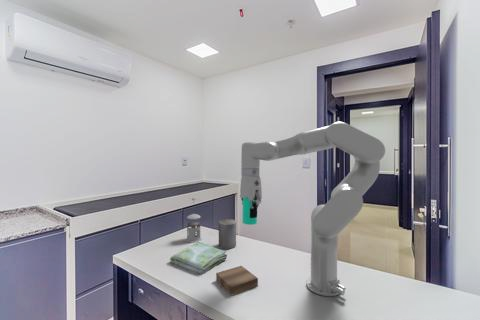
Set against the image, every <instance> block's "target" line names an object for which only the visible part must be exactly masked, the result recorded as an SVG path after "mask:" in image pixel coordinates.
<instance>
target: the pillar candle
mask: <svg viewBox="0 0 480 320" xmlns="http://www.w3.org/2000/svg"><path fill="white" fill-rule="evenodd" d="M218 247H219V248H220V249H221V250H231V249H234V248H236V247H237V221H236V219H233V218H232V219H231V218H225V219H220V220H218Z"/></svg>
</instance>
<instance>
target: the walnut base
mask: <svg viewBox="0 0 480 320" xmlns="http://www.w3.org/2000/svg"><path fill="white" fill-rule="evenodd" d="M215 278H216V279H215V281H216V282H218V284H219V285H220V286H221V287H222V288H223V289H224V290H225V291H226V292H227V294H229V295H230V296H233V295H236V294H239V293H241V292H244V291H247V290H250V289H252V288H255V287H258V286H259V278H258V277H257V276H256V275H255V274H253V273H252V272H250V271H249V270H248V269H246V268H245V267H244V266H242V265H239V266H236V267H233V268H229V269H225V270H222V271H219V272H216V274H215Z"/></svg>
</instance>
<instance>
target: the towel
mask: <svg viewBox="0 0 480 320" xmlns="http://www.w3.org/2000/svg"><path fill="white" fill-rule="evenodd" d="M227 257H228V255H227V253H226V251H225V250H224V249H221V248H220V249H219V248H216V247H215V246H212V245H209V244H207V243H204V242H201V241H200V242H197V243H192V245H190V246H188V247H187V248H184V249H181V250H180V251H178V252H176V253H174V254H173V255H172V256H170V258H169V260H170V262H171V263H172V264H175V265H177V266H180V267H182V268H185V269H187V270H189V271H192V272H194V273H197V274H200V275H202V274H204V273H206V272H208V271H209V270H210V269H213V268H214V267H216V266H217V265H218V264H220V263H222V262H224V261H226V260H227Z"/></svg>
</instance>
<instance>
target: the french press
mask: <svg viewBox="0 0 480 320" xmlns="http://www.w3.org/2000/svg"><path fill="white" fill-rule="evenodd" d="M195 200H196V198H195V197H193V198H192V199H191V201H193V203H195ZM186 218H187V220H194V221H190V222H188V223H187V226H186V235H187V236H186V239H185V240H186V241H185V242H186V243H188V242H190V243H189V244H196V243H195V242H197V243H198V242H199V241H200V242H201V240H203V239H202V237H201V225H200V224H201V222H200V219H201V218H202V216H201V215H199V214H197V213H192V214H189V215H187V216H186ZM197 220H198V222H197Z"/></svg>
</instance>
